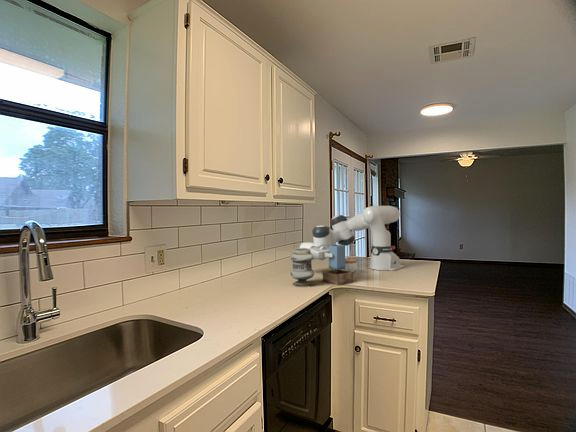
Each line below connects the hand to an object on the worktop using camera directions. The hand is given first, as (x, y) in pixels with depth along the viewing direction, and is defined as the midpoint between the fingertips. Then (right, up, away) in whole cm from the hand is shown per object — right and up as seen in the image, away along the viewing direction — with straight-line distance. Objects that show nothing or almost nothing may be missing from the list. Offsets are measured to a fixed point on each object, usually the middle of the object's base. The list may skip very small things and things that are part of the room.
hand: (338, 254), depth 170 cm
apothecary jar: (-19, -15, -4) cm, 24 cm away
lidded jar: (+9, -14, +23) cm, 28 cm away
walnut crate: (0, -14, +1) cm, 14 cm away
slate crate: (0, -7, +1) cm, 7 cm away
